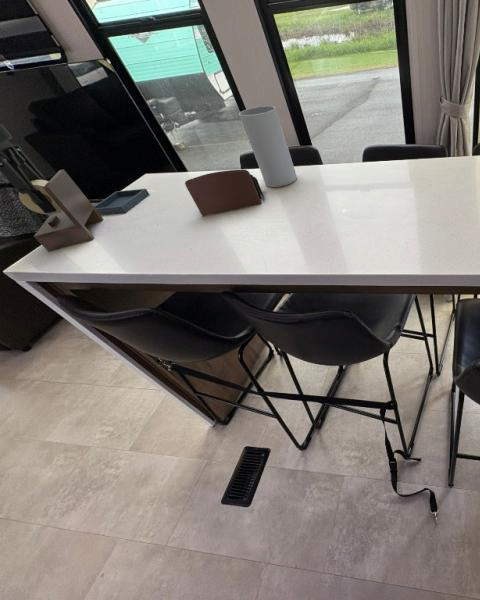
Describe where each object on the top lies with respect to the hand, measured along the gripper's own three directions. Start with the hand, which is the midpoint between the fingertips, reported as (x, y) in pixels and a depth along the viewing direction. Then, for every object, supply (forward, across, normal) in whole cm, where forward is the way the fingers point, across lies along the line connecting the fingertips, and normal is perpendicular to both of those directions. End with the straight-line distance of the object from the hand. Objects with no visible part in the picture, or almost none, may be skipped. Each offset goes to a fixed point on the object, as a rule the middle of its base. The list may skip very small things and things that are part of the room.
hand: (53, 208), depth 99 cm
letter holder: (+11, -9, -49) cm, 51 cm away
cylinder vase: (+10, +5, -68) cm, 69 cm away
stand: (+11, 0, 0) cm, 11 cm away
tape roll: (-4, 0, 0) cm, 4 cm away
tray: (+11, +23, -9) cm, 27 cm away
